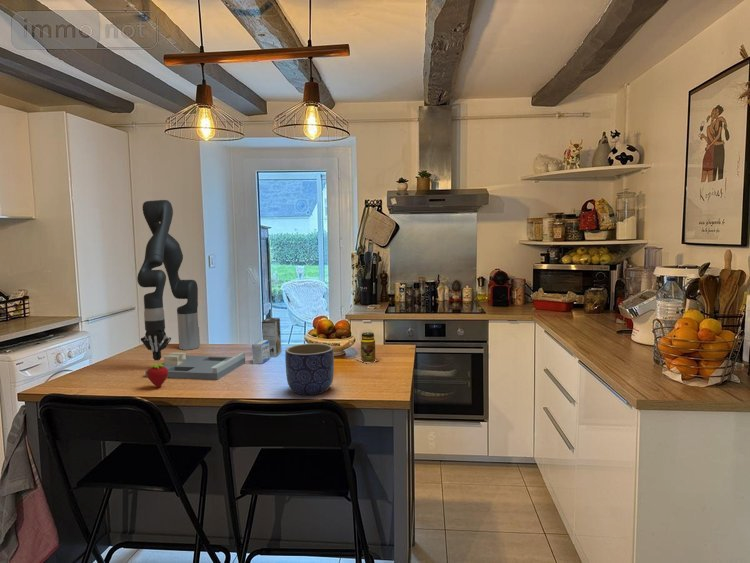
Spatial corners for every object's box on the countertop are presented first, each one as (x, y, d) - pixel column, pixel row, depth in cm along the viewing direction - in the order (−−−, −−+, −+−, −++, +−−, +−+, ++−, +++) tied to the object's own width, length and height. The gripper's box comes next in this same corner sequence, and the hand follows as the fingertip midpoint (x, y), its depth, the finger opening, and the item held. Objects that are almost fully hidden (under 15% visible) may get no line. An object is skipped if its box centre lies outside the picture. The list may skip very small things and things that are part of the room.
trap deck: (181, 360, 212) (180, 350, 211) (245, 362, 206) (244, 352, 206) (145, 377, 188) (145, 365, 188) (217, 379, 183) (216, 368, 182)
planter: (344, 389, 170) (343, 347, 168) (308, 401, 157) (306, 357, 156) (313, 380, 181) (311, 340, 179) (276, 391, 168) (275, 349, 167)
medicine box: (262, 364, 204) (261, 344, 203) (252, 364, 205) (251, 343, 204) (270, 359, 212) (269, 340, 211) (260, 359, 212) (259, 339, 212)
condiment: (365, 364, 201) (365, 335, 200) (354, 360, 208) (354, 332, 207) (380, 361, 205) (379, 333, 204) (369, 357, 212) (368, 330, 211)
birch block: (172, 360, 202) (172, 352, 202) (185, 361, 201) (185, 352, 201) (164, 364, 196) (163, 356, 196) (177, 365, 195) (177, 356, 195)
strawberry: (153, 384, 179) (152, 357, 178) (172, 385, 177) (171, 358, 176) (143, 389, 173) (142, 362, 172) (163, 390, 172) (161, 362, 171)
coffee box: (267, 352, 225) (266, 317, 223) (281, 352, 224) (280, 317, 223) (262, 357, 215) (261, 321, 214) (277, 357, 215) (275, 321, 214)
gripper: (174, 317, 201) (177, 358, 203) (146, 316, 203) (148, 357, 205) (163, 320, 194) (166, 362, 195) (134, 319, 196) (136, 361, 198)
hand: (157, 359), depth 200 cm, fingers closed
